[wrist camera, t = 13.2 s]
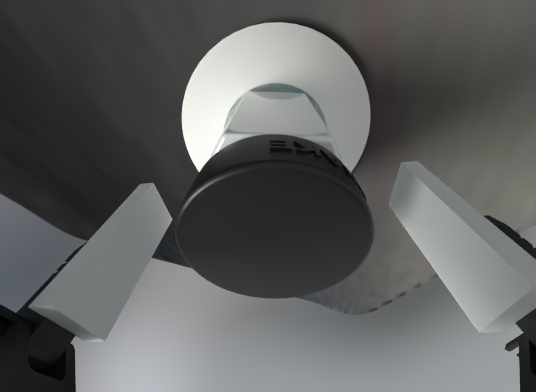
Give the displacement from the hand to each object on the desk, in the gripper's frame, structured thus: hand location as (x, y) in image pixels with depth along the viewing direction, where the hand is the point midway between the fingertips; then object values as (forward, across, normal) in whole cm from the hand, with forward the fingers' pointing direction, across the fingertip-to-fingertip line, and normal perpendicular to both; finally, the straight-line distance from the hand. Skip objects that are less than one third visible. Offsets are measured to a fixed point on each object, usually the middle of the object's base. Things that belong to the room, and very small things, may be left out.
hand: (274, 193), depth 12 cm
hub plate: (+9, 0, 0) cm, 9 cm away
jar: (+8, 0, 0) cm, 8 cm away
